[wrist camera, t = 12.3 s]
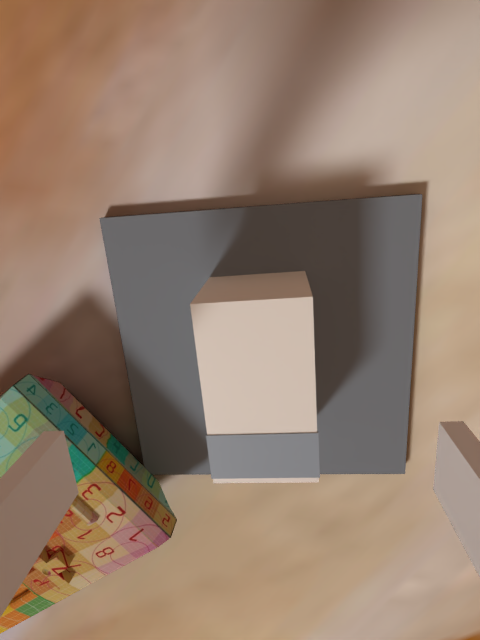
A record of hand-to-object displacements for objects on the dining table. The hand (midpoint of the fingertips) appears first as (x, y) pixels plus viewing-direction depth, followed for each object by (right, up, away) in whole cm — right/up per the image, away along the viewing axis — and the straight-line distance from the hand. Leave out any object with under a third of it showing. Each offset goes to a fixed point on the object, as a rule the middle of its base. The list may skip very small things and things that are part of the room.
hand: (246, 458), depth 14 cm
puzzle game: (-15, -7, +14) cm, 22 cm away
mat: (+1, +3, +9) cm, 9 cm away
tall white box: (+1, +3, +8) cm, 9 cm away
